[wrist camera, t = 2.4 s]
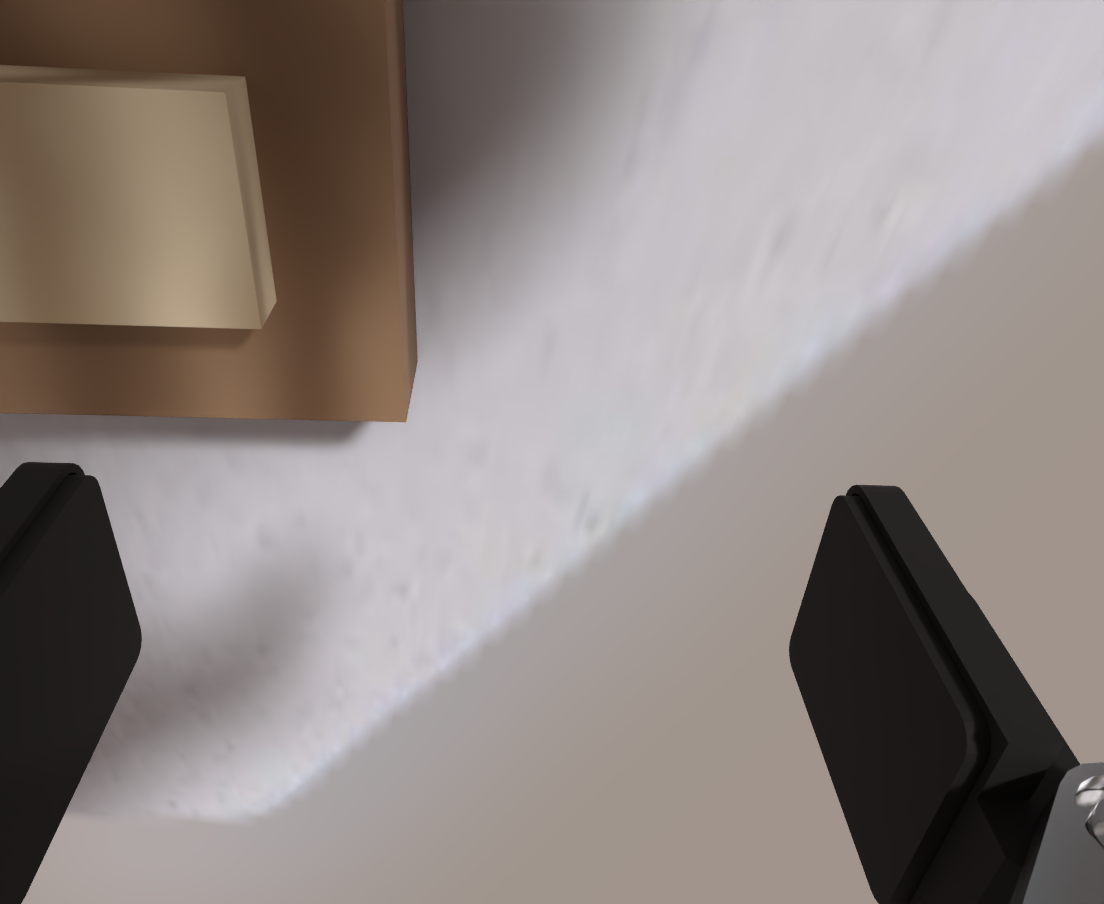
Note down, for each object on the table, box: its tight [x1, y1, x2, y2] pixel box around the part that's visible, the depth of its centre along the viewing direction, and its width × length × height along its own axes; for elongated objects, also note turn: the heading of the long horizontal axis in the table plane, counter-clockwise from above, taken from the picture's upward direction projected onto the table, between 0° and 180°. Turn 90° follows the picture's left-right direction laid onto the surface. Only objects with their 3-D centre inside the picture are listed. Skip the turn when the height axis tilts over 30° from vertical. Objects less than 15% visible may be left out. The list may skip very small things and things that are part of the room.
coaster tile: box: [0, 65, 277, 329], centre depth 22 cm, size 9×6×2 cm, turn 87°
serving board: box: [0, 0, 417, 422], centre depth 24 cm, size 18×14×4 cm
